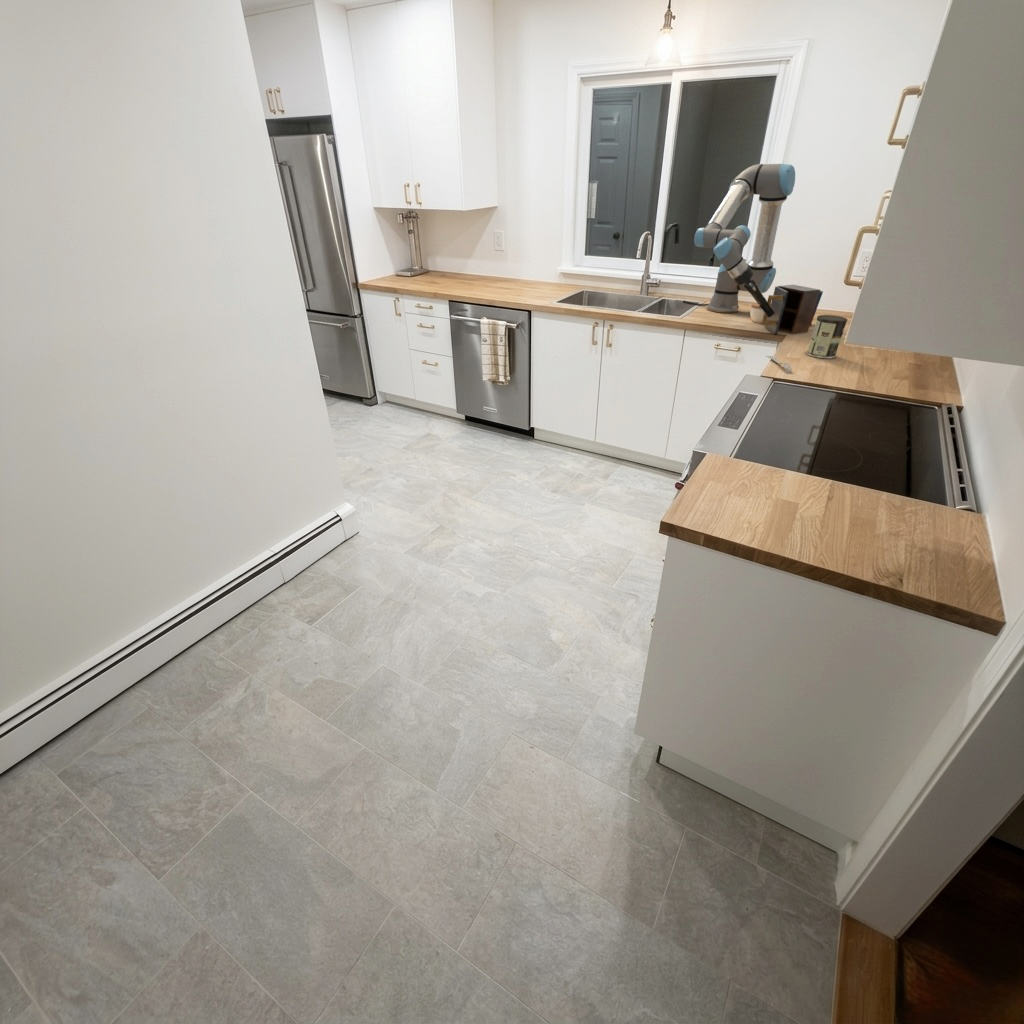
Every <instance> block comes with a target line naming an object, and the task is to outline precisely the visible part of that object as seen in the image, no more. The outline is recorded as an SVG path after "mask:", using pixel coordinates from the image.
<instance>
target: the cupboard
mask: <svg viewBox="0 0 1024 1024" xmlns="http://www.w3.org/2000/svg"><path fill="white" fill-rule="evenodd" d="M777 286H778V287H779V288H781V289H783V290H785V291H787V292H788V295H787V299H786V303H785V307H784V310H783V314H782V318H781V321H780V325H779V329H778V332H784V333H787V334H791V335H795V334H803V333H808V332H809V329H810V326H811V325H810V323H811V319H812V316H813V313H814V309H815V306H816V303H817V299H818V296H819V293H820V291H821V289H819V288H813V287H809V286H803V285H799V284H798V285H797V284H786V285H777ZM811 324H812V323H811Z"/></svg>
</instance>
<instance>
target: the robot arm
mask: <svg viewBox="0 0 1024 1024" xmlns="http://www.w3.org/2000/svg"><path fill="white" fill-rule="evenodd" d="M795 183H796V169H795V167H794V165H792V164H789V163H788V164H787V163H757V164H753V165H751V166H749V167H747V168H745V169H744V170H743V171H741V172H740V173H739V174H738V175H737V176H736V177H735V178H734V179H733V180H732V182H731V183H730V185H729V187H728V192H727V193H726V195H725V196H724V198H723V200H722V202H721V203H720V205H719V206H718V208H717V209H716V210H715V212H714V214H713V215H712V217H711V219H710V220H709V221H708V223H707V225H706V226H705V227H699V228H697V230H696V232H695V234H694V238H693V240H694V245H695V246H696V247H697V248H698V247H699V248H703V249H704V248H705V249H713V253H714V255H715V257H716V259H717V260H718V261H719V263H720V266H719V269H718V271H717V277H716V283H715V287H714V292H713V295H712V297H711V299H710V301H709V303H697V302H692V301H688V300H683V301H682V302H683V303H685V304H689V305H694V306H699V307H707V310H708V311H710V312H714V313H722V314H734V313H735V314H736V313H738V312H739V308H740V306H739V293H740V292H739V291H741V292H748V293H749V294H750V295H751V296H752V298H753V299H754V301H755V303H758V304H759V305H760V306H759V307H761V308H762V309H763V311H764V312H765V313H766V314H767V316H768V317H771V316H772V315H773V314H775V313H774V311H773V310H772V308H771V307H770V306H769V304H768V303H767V301H768V299H766V298H765V296H764V295H763V294H765V293H766V292H768V291H769V289H770V288H771V286H772V285H773V282H774V280H775V277H776V274H777V268H776V267H774V261H773V260H772V255H773V250H774V245H775V240H776V236H777V231H778V226H779V220H780V216H781V211H782V205H783V203H785V201H786V200H788V196H790V195H791V194H792V193H793V191H794V188H795ZM750 195H757V196H758V195H759V196H758V201H759V203H760V204H761V206H760V210H759V216H758V222H757V228H756V233H755V239H754V245H753V250H752V255H751V259H750V260H749V261H748V262H747V259H746V258H744V257H743V255H742V254H741V252H742V250H743V249H744V247H745V246H746V245H747V244H748V242H749V240H750V238H751V235H752V233H751V230H750V228H749V227H748V226H747V225H743V224H741V225H738V226H737V227H735V228H734V229H726V228H727V226H728V225H729V223H730V222H731V220H732V219H733V217H734V215H735V214H736V212H737V211H738V209H739V207H740V206H741V204H742V203H743V201H745V200H746V199H748V197H749V196H750Z"/></svg>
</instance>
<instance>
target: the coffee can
mask: <svg viewBox="0 0 1024 1024" xmlns="http://www.w3.org/2000/svg"><path fill="white" fill-rule="evenodd" d="M847 322H848V318H846V317H844V316H839V315H832V314H820V315H817V316H816V321H815V324H814V326H813V327H814V328H813V330H812V335H811V337H810V341H809V344H808V348H807V351H806V354H807V356H810V357H813V358H818V359H828V360H829V359H834V358H836V355H837V352H838V349H839V346H840V343H841V340H842V337H843V334H844V331H845V327H846V324H847Z"/></svg>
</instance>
